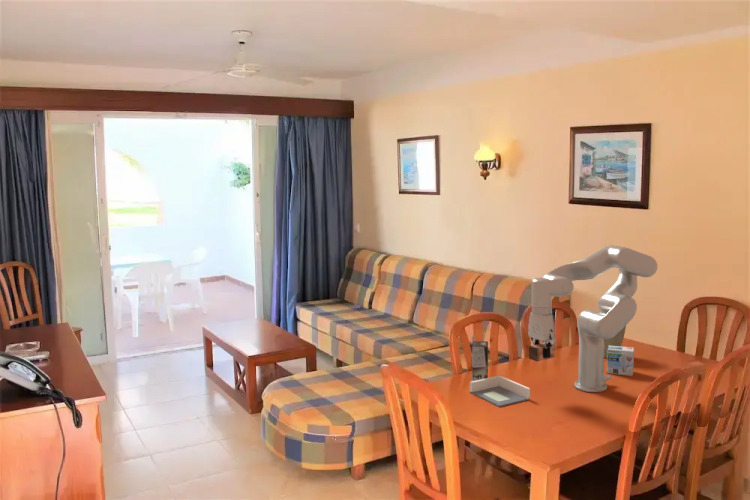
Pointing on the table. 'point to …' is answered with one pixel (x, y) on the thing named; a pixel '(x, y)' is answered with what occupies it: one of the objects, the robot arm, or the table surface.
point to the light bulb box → (620, 360)
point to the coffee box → (479, 360)
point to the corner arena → (499, 391)
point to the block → (540, 352)
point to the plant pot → (614, 341)
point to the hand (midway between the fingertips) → (541, 355)
